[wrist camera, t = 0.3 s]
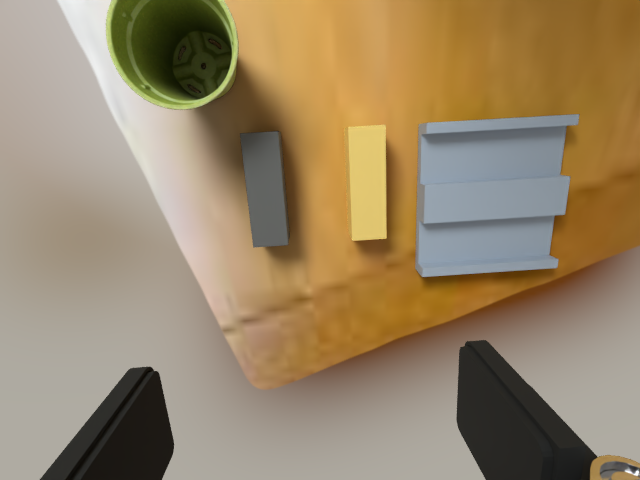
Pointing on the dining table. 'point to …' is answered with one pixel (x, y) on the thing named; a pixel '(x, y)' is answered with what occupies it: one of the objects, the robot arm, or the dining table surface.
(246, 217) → the dining table surface
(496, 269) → the slot rack
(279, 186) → the dark gray block
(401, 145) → the dining table surface
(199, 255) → the dining table surface
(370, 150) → the butter stick
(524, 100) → the dining table surface
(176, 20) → the plant pot
